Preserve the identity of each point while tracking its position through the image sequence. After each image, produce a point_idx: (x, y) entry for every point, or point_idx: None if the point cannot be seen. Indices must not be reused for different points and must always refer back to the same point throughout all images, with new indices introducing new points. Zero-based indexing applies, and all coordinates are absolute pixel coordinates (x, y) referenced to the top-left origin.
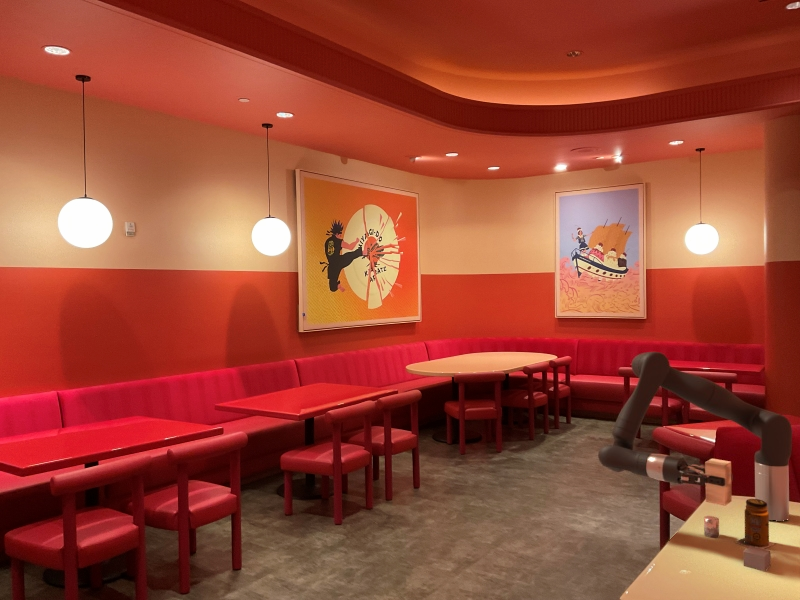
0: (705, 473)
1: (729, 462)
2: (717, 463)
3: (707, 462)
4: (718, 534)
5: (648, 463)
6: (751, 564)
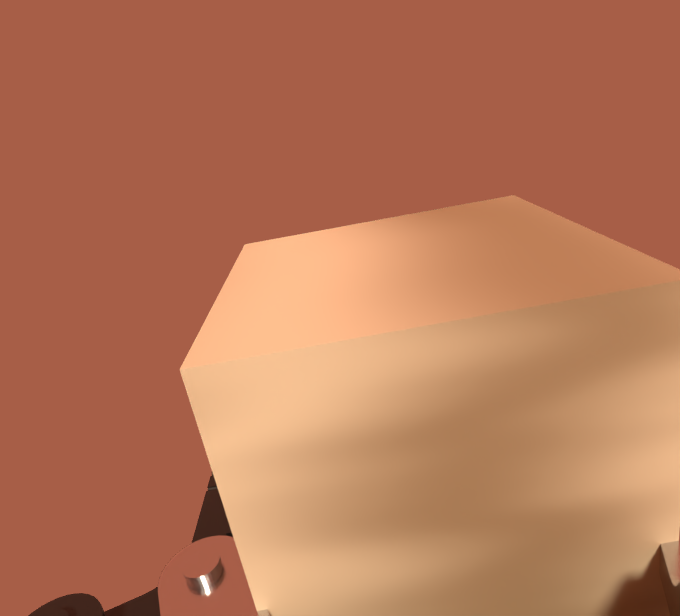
0: (674, 531)
1: (301, 234)
2: (506, 227)
3: (649, 262)
4: None
5: None
6: None
